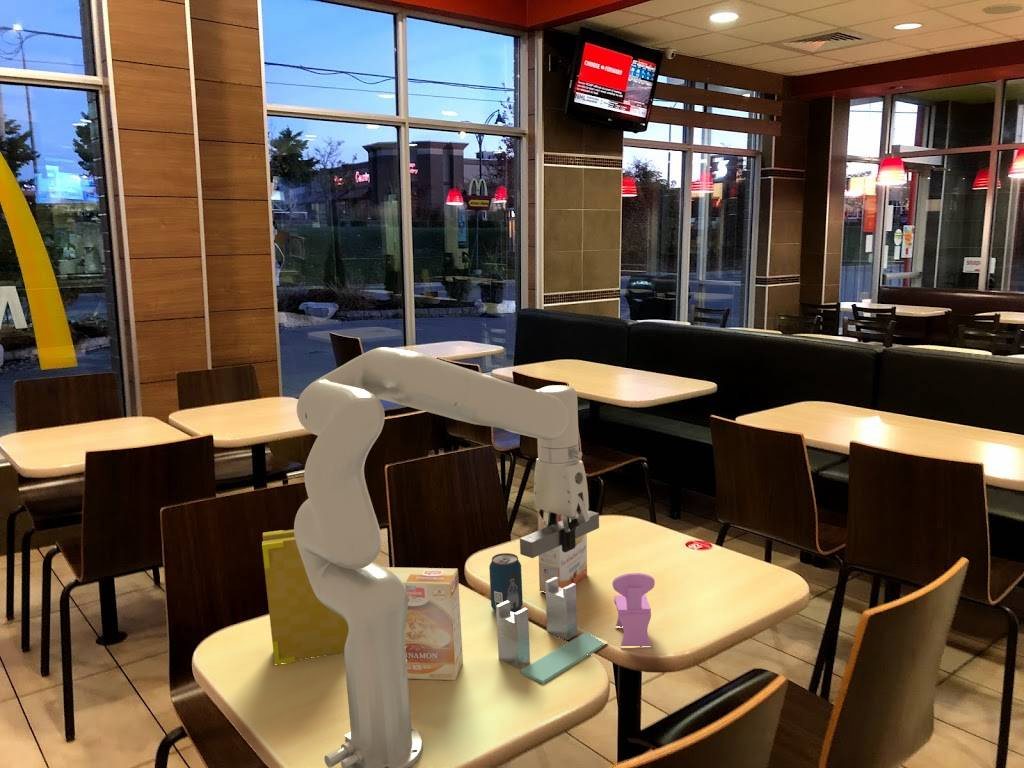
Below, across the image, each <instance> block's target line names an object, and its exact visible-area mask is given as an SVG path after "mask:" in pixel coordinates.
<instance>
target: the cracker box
mask: <svg viewBox="0 0 1024 768" xmlns="http://www.w3.org/2000/svg"><path fill="white" fill-rule="evenodd" d="M577 514H578V513H577ZM562 520H563V517H562V515H559V514H558V521H557V522H560V521H562ZM546 527H547V526H545V525H544V524H543V519H542V517H541V516H540V514H539V513H538V512H537V531H538V530H541V529H543V528H546ZM587 534H588V533H587ZM587 534H585V535H583V536H580V537H578V538H576V539H575V542H576V543H575V544H576V546H575V548H574V549H572V550H570V551H568V552H563V551H562V545H561V546H558V547H556V548H554V549H552V550H550V551H547V552H545V553H543V554H541V555H539V556H538V577H539V581H538V583H539V592H540V591H544V592H546V588H545V581H547V580H549V579H551V578H553V577H557V578H558V587H560V588H564V587H566V586H568V585H570V584H572V583H574V584H576V585H577V583H579V582H580V581H581V580H582V579H583V578H584V577H586V576H587V575H588V543H587V542H588V540H587V539H588V536H587Z"/></svg>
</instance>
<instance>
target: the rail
mask: <svg viewBox="0 0 1024 768" xmlns="http://www.w3.org/2000/svg"><path fill="white" fill-rule="evenodd" d="M587 513H588V515H589V520H588V521H586V522H584V523H581V524H580V525H579V526H578V528H576V529H575V539H576V538H578V537H580V536H583V535H585V534H588V533H592V532H594V531H596V530H598V529H600V513H599V512H595V511H592V510H589V509H588V510H587ZM577 518H578V514H577ZM569 520H570V522H571V518H569ZM562 531H564V527H563V520H562V521H560V522H557V523H555V524H553V525H550V526H548V527H546V528H543V529H541V530H538V529H537V531H534V532H532V533H529V534H527V535H525V536H522V537H520V538H519V549H520V550H519V551H520V552H519V553H520V555H521V556H525V557H527V558H531V559H534V558H536V557H539V555H541V554H543V553H545V552H547V551H550V550H552V549H554V548H556V547H558V546H561V545H562Z"/></svg>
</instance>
